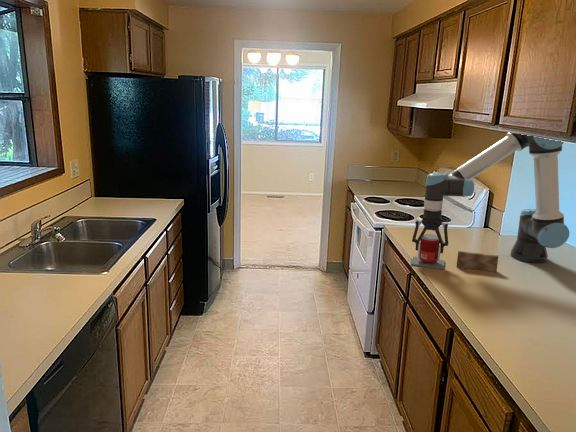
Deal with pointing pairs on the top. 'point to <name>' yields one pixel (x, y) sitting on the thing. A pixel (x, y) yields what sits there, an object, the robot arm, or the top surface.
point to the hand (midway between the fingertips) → (428, 258)
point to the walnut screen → (477, 261)
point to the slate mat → (435, 265)
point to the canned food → (429, 248)
